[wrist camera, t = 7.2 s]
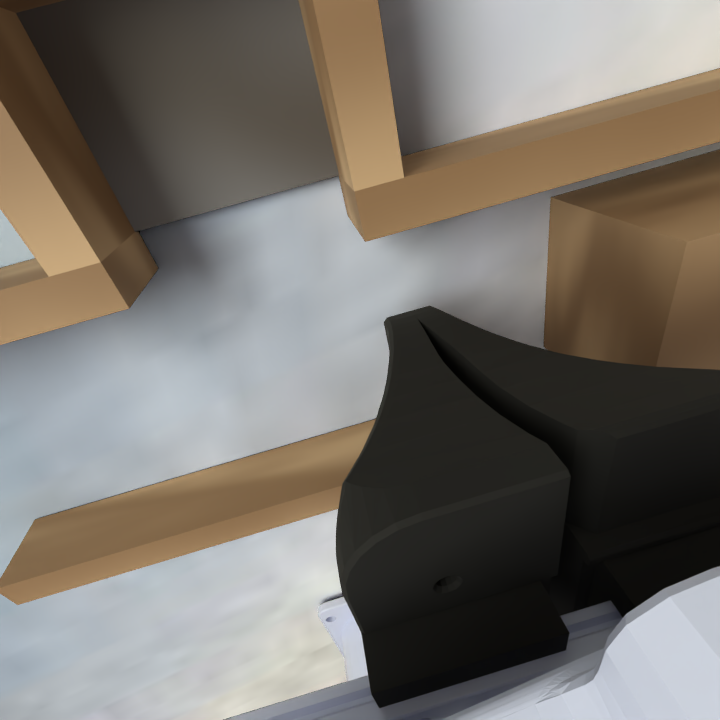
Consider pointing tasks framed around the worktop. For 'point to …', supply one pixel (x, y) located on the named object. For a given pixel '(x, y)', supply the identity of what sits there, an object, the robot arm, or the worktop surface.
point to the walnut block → (638, 268)
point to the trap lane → (232, 186)
